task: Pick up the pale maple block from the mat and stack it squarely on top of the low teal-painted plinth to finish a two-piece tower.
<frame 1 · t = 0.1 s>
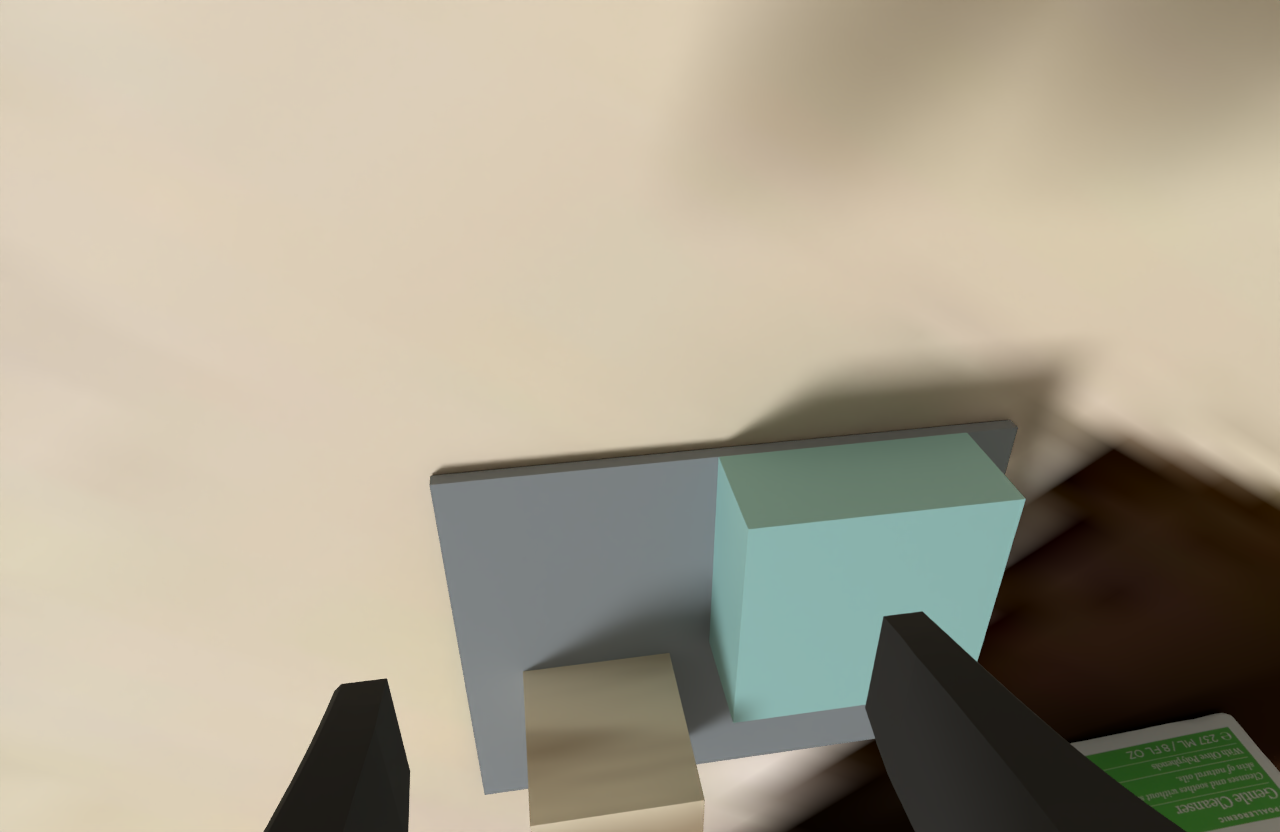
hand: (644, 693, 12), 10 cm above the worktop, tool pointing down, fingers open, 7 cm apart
skincare box: (1108, 773, 35), on the worktop
plinth: (830, 543, 25), resting on mat
maple block: (599, 710, 27), resting on mat
mat: (722, 619, 26), on the worktop
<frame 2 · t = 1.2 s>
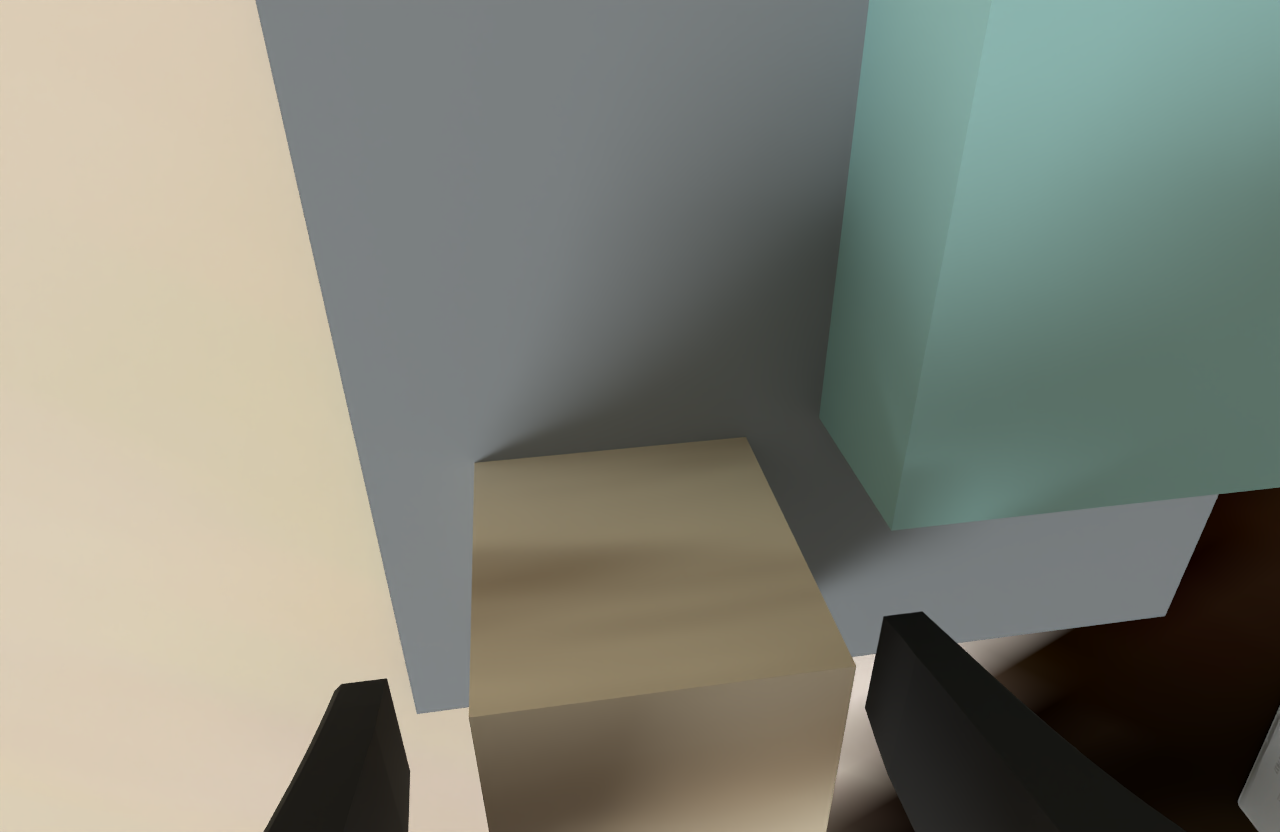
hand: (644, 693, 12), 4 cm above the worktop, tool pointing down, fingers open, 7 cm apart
plinth: (1064, 200, 13), resting on mat
maple block: (616, 553, 15), resting on mat
mat: (842, 377, 14), on the worktop
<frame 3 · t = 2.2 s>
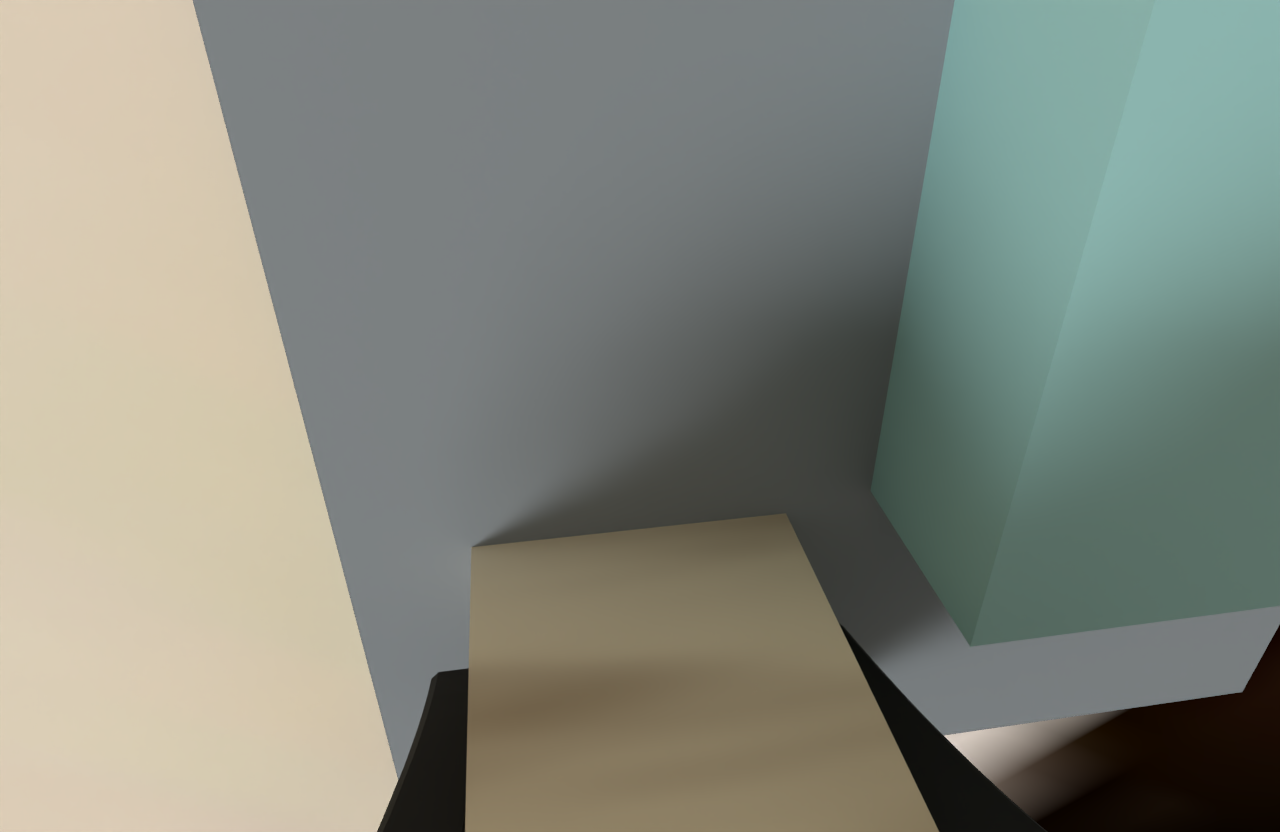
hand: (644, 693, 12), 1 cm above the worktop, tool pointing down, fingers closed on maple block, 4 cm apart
plinth: (1167, 245, 11), resting on mat
maple block: (634, 641, 13), resting on mat, touching gripper
mat: (897, 443, 12), on the worktop
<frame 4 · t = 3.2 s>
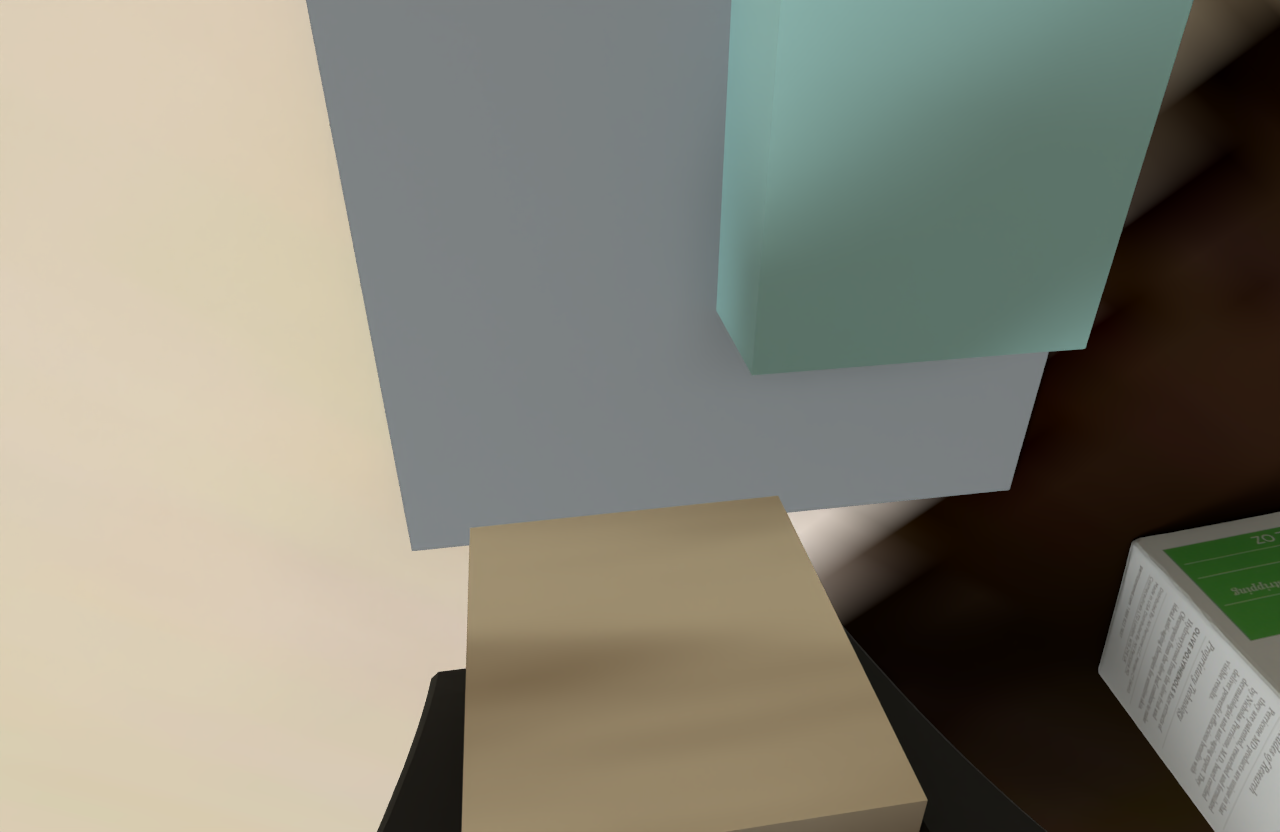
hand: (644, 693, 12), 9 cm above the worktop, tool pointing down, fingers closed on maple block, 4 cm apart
skincare box: (1215, 586, 28), on the worktop
plinth: (889, 144, 17), resting on mat
maple block: (630, 623, 13), point 8 cm above the worktop, touching gripper
mat: (734, 281, 19), on the worktop
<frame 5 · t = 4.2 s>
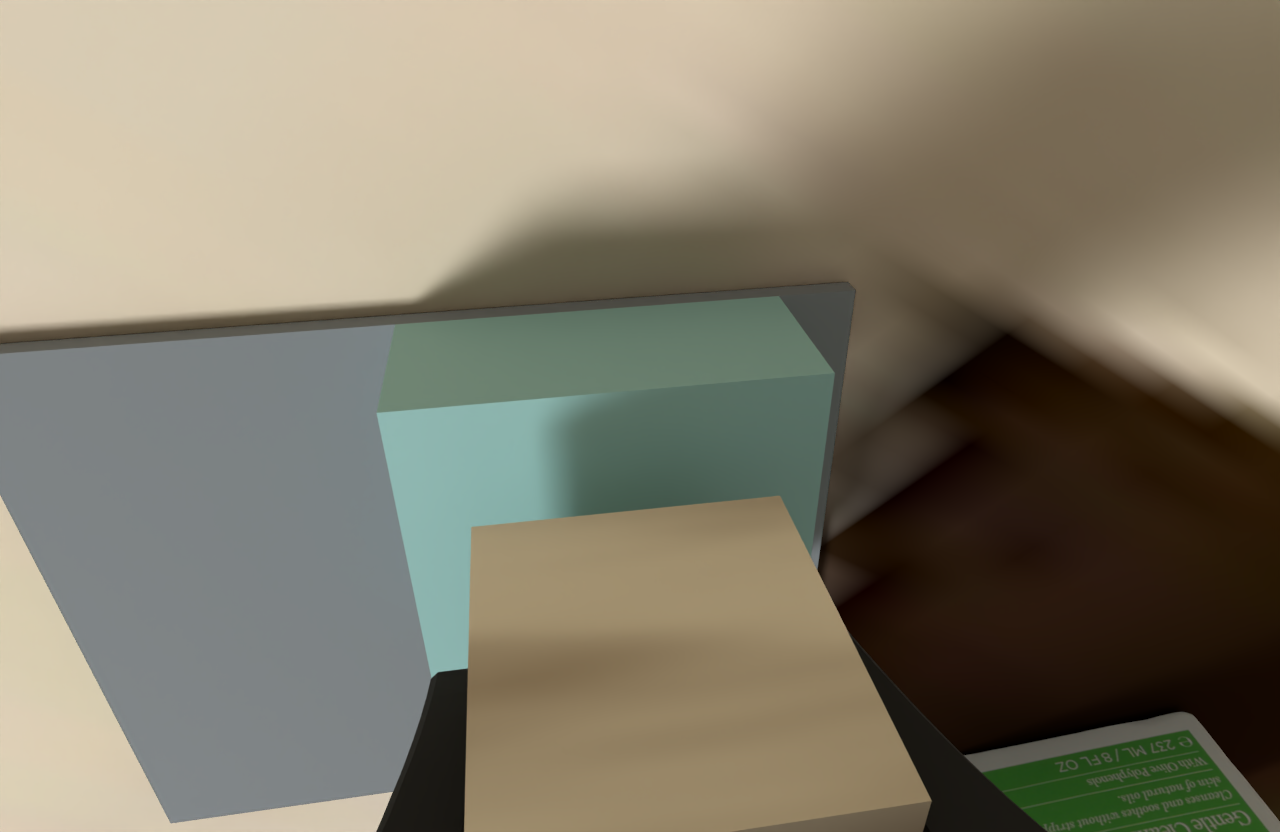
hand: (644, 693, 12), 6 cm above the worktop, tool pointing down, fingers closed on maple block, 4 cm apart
skincare box: (1040, 789, 27), on the worktop
plinth: (599, 466, 17), resting on mat
maple block: (631, 623, 13), point 5 cm above the worktop, touching gripper
mat: (467, 579, 19), on the worktop
when the fingers open (6 cm above the worktop, at t = 4.7 s): maple block stays where it is, resting on plinth.
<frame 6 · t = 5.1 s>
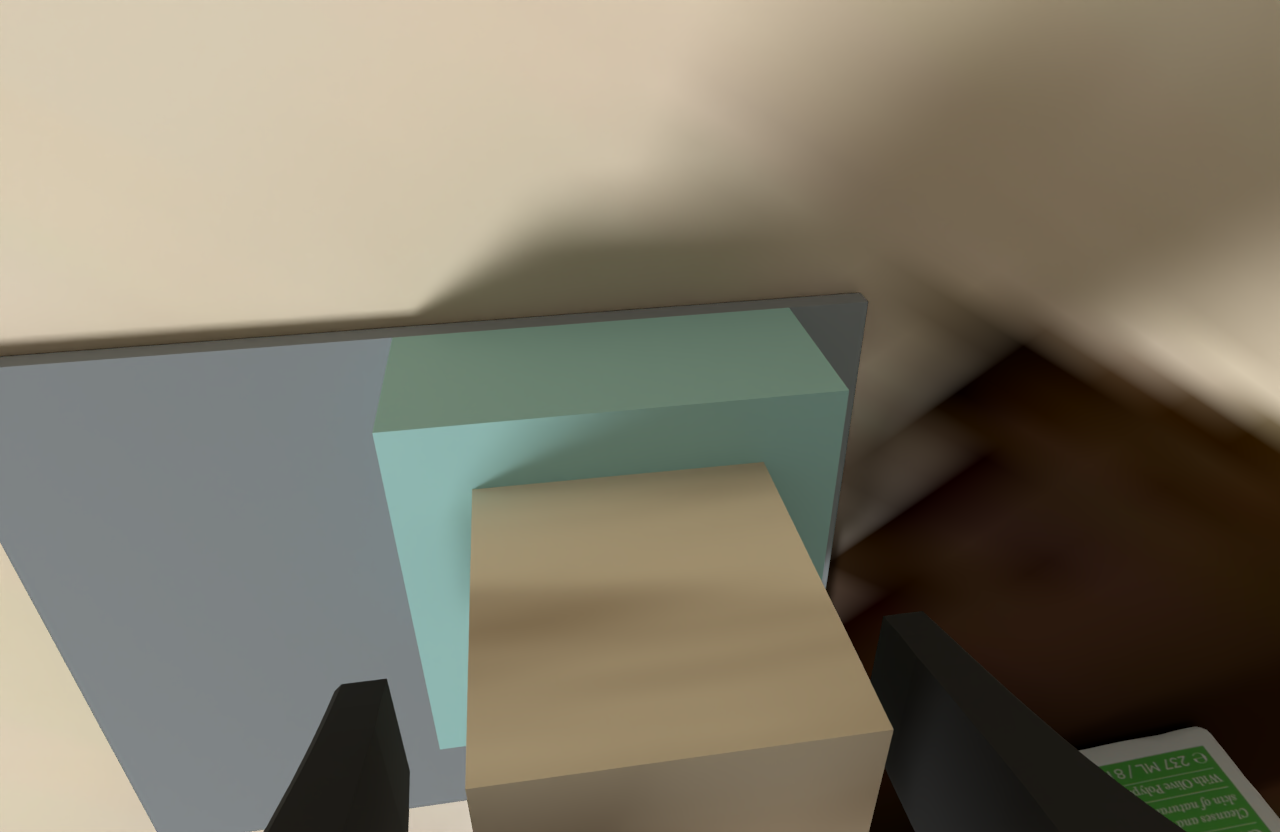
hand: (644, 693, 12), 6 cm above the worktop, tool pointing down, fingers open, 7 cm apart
skincare box: (1050, 804, 27), on the worktop
plinth: (603, 482, 17), resting on mat, touching maple block
maple block: (623, 584, 14), point 3 cm above the worktop, touching plinth
mat: (467, 596, 18), on the worktop
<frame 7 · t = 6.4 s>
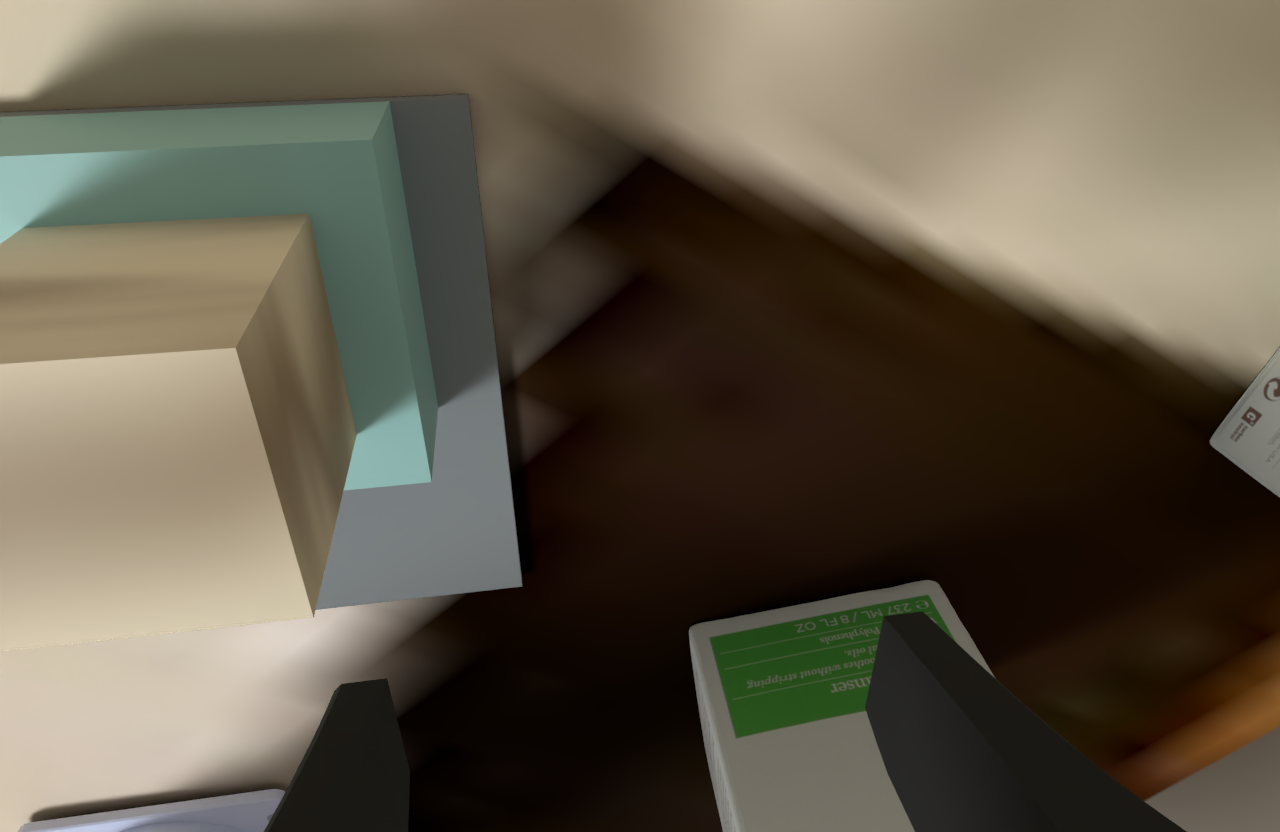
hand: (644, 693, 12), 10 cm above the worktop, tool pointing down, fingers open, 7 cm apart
skincare box: (806, 664, 28), on the worktop
plinth: (247, 281, 18), resting on mat, touching maple block
maple block: (205, 341, 15), point 3 cm above the worktop, touching plinth
mat: (148, 405, 19), on the worktop
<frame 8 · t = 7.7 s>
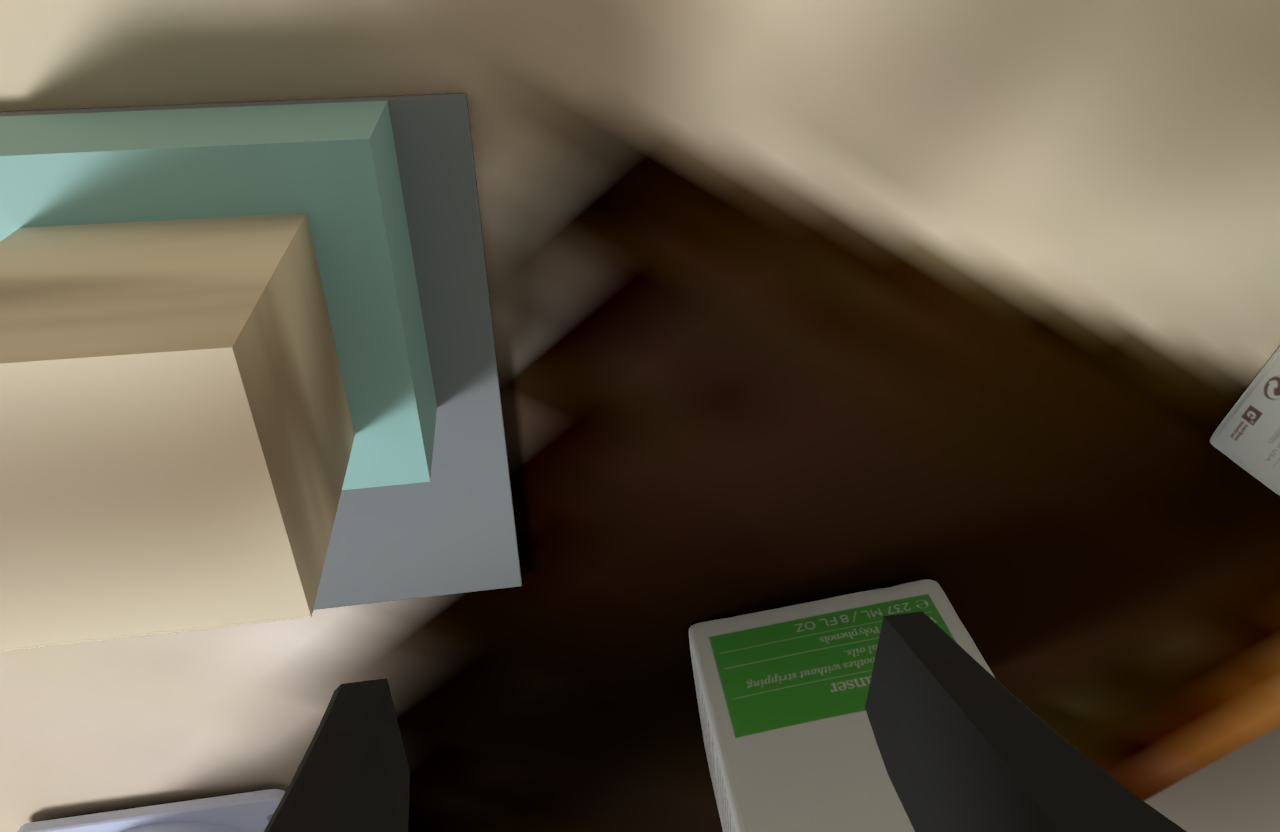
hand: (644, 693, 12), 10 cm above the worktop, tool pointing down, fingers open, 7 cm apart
skincare box: (806, 663, 28), on the worktop
plinth: (245, 280, 18), resting on mat, touching maple block
maple block: (203, 341, 15), point 3 cm above the worktop, touching plinth
mat: (146, 404, 19), on the worktop
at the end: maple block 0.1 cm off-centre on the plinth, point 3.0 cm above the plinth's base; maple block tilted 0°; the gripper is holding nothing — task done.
